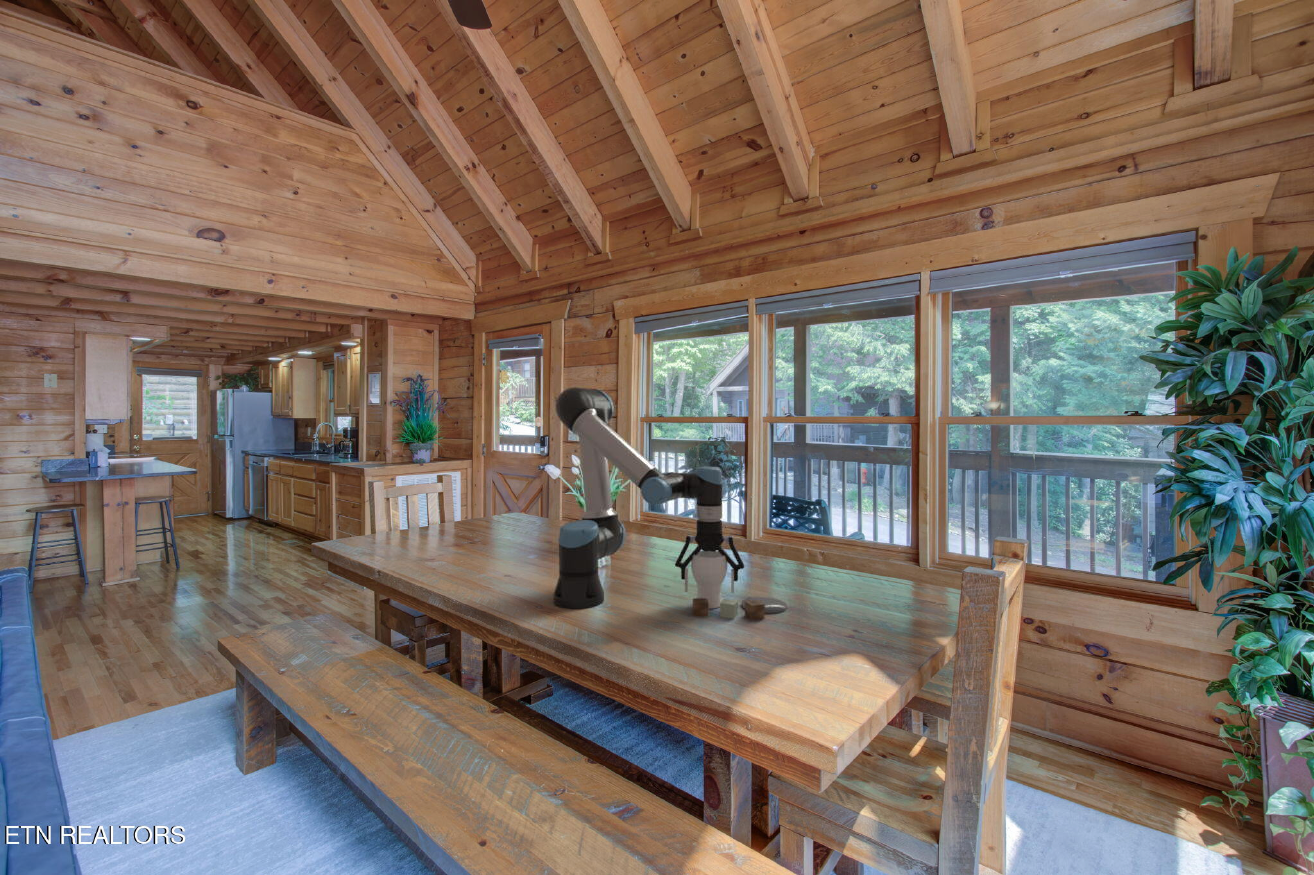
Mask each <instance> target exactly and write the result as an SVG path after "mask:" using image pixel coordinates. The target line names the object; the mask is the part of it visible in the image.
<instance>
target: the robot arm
mask: <svg viewBox="0 0 1314 875" xmlns="http://www.w3.org/2000/svg"><path fill="white" fill-rule="evenodd" d="M614 410H615V407H614V402H613V400H612V398H611V397H610V395H608V394H607V393H606V392H605V391H603V390H601V389H600V390H599V389H598V388H588V387H587V388H586V387H578V386H576V387H568V388H566V389H564V390H563V391H562V392H561V393H560V394H559V395H558V397H557V399H556V402H555V413H556V415H557V417H558V419H559V420H560V422H561V423H562V424H563V425H564V427H566V428H567V429H568V430H569V431H570V432H571V433H573V435H577V436H578V438H579V439H578V440H579V441H578V442H579V450H580V462H581V473H582V484H583V495H584V497H583V498H584V507H585V512H584V513H583V514H582V515H581V519H580V520H576V521H574V520H573V521H569V522H567V523H564V524H563V525H562V526H561V527H560V529H559V532H558V533H559V534H558V561H559V562H558V570H559V571H558V572H559V573H558V575H559V576H558V579H557V582H556V585H555V588H554V592H553V596H552V597H553V599H552V600H553V604H554V605H556V606H557V607H561V608H565V609H584V608H585V609H586V608H592V607H596V606H598V605H601V604H603V603H604V600H605V592H604V588H603V585H602V583H601V579H600V576H599V560H600V559H603V558H606V557H610V556H612V555H614V554H615V553H617V552H618V551H619V550H620V549H621V548H622V547H623V545H624V543H625V541H626V534H627V533H626V528H625V526H624V524H623V523H622V522H621V520H620V519H619V516H618V515H619V514H618V512H617V511H616V510H615V509H614V508H613V501H612V500H613V499H612V489H611V481H610V480H611V479H610V470H609V469H610V468H609V462H610V463H611V464H612V465H613V466H614V467H615V468H616V469H618V471H620V472H621V473H622V474H623V475H624V476H625V477H626V478H627V479H629V481H631V482H632V483H633V484H634V485H636V487H638V488H639V489H640V494H641V496H642V499H643V500H644V501H645V502H646V503H648V504H649V505H663V504H666V503H668V502H669V501H670V502H671V501H674V500H677V499H693V500H694V499H696V518H697V520H696V534H695V535H691V534H687V535H686V537H685V543H684V545H683V547H682V549H681V552H680V553H679V555H678V558H676V561H675V564H674V565H675V567H676V568H680V578H681V580H684V592H689V567H688V566H689V565H690V564H691V561H692V559H693V555H697V554H698V553H699V552H700V551H706V552H707V551H711V552H715V551H718V552H719V553H720V554H721V555H722V556H725V558H726V561H727V564H728V565H730V566H731V570H730V573H731V576H730V577H731V578H730V579H731V582H730V584H731V585H730V587H731V589H730V591H731V592H730V593H731V594H734V593H735V582H738V581H739V570H742V569H744V568H745V563H744V562H743V559H742V557H741V555H740V554H739V551H738V549H737V548H736V546H735V544H734V537H733V536H732V535H729V536H724V535H723V521H722V519H723V484H724V483H723V471H722V469H721V468H720V467H718V466H699V467H697V468H696V472H695V473H693V472H692V473H689V472H688V473H687V472H674V471H669V472H661V471H660V470H659V469H658V468H657V467H656V466H655V465H653V463H651V462H650V461H649V460H648V459H647V458H646V457H645V456H643V455H642V454H641V453H640V452H639V451H638V450H637V449H635V448H634V447H633V446H632V445H631V444H629V442H627V441H626V440H625V439H624V438H623V437H622V436H621V435H619V434H618V433H617V432H616V431H615V430H614V429H613V428H611V426H610V421H611V419H612V417H613V415H614V412H615V411H614ZM694 541H695V543H696V544H697V546H696V547H695V549H694V550H692V551H691V553H690V554H689V556H688V557H687V558H686V559H685V560H684V561H683V559H684V557H685V554H686V553H687V550H688V548H689V547H690V544H693V542H694ZM724 542H725V543H726V544H727V545H729V548H730V550H731V553H732V554H733V556H734V558H735V560H736V562H737V563H736V562H735V561H734V559H732V557H731V556H730V555H729V553H728V552H727V551H726V550H725V549H724V547H723V546H722V545H723V543H724ZM682 561H683V562H682Z"/></svg>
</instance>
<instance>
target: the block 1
mask: <svg viewBox="0 0 1314 875" xmlns="http://www.w3.org/2000/svg"><path fill="white" fill-rule="evenodd" d="M709 610H710V608H709V603H708V600H707V598H697V597H696V598H695V597H694V598H692V615H693V618H694V617H695V618H699V617H700V618H703V617H704V618H708V617H709V615H710V614H709Z"/></svg>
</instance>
